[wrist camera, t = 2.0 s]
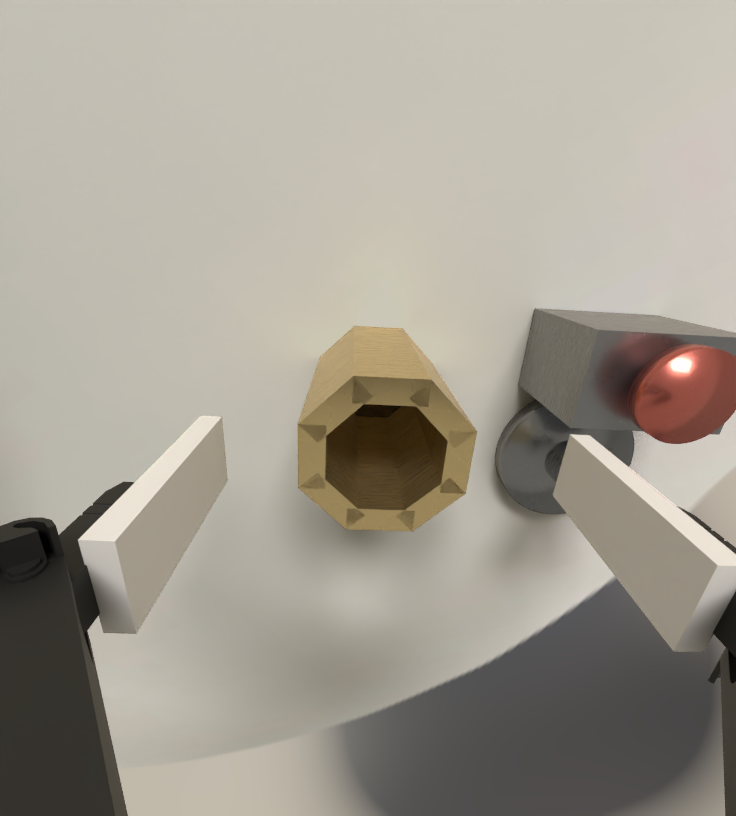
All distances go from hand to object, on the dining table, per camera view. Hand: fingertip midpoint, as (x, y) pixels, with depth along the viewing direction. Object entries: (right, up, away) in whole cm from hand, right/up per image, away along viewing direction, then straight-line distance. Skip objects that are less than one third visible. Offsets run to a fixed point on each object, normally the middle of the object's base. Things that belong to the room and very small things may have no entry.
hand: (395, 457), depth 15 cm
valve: (+11, +1, +9) cm, 14 cm away
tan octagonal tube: (-1, +3, +8) cm, 9 cm away
